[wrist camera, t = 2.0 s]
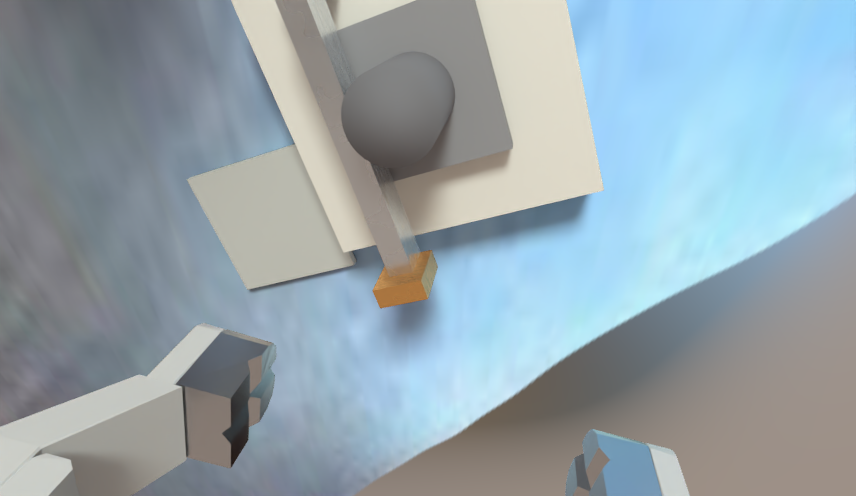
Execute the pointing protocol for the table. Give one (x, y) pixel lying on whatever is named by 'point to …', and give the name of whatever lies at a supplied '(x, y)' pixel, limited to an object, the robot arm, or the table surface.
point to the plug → (422, 88)
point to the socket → (468, 181)
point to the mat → (270, 218)
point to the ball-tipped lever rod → (371, 183)
